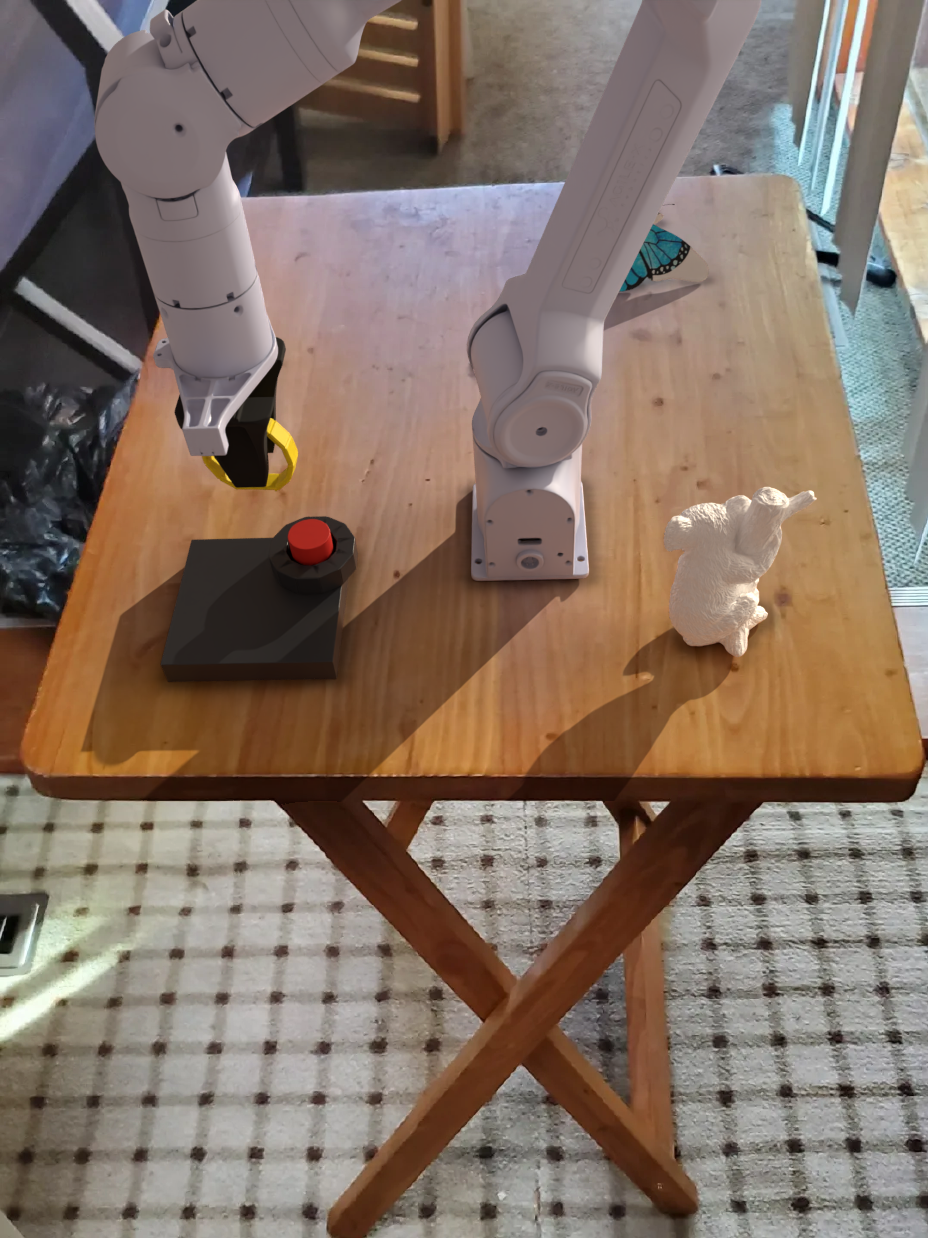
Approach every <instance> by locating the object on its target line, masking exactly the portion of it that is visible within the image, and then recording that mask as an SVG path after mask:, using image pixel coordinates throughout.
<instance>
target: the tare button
mask: <svg viewBox="0 0 928 1238" xmlns="http://www.w3.org/2000/svg"><path fill="white" fill-rule="evenodd" d="M288 541H289V545H290V549H291V553H292V556H293V558H294V559H295V560H296V561H297V562H298V563H300V564H304V565H316V564H319V563H321V562H324V561H325V560H327V559H328V558H329V557H330V556H331V554H332V552H333V543H332V538H331V533H330V529H329V527H328V526H327V524H325V523H324V522H322V521H320V520H316V519H308V520H303V521H300V522H298V523H296V524H295V525H294V526H293V527H292V528H291V529H290V530H289V533H288Z"/></svg>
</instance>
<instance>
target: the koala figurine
mask: <svg viewBox="0 0 928 1238" xmlns="http://www.w3.org/2000/svg"><path fill="white" fill-rule="evenodd" d="M815 501H817V497H815V492H814V491H813V490H806V491H803V490H802V491H800V492H799V493H798V494H796V495H793V496H791V497H787V495H786V494H785V493H784V492H782V491H780V490H779V489H776V488H774V487H770V486H764V487H761V488H758V489H757V490H756V491H755V492H754V493H753V494H752V498H751V499H750V498H749V497H748V496H746V495H744V494H740V495H735V496H732V497H730V498H728V499H727V500H726V501H725V502H724V503H721V504H720V503H716V502H702V503H700V504H699V503H698V504H695V505H692V506H689V507H688V508H685V509H683V511H682V512H681V513H680V514H679V515H674V516H672V517H671V518H670V521H667V525H666V527H665V528H664V531H665V532H663V535H664V536H663V546H664V549H665V550H666V551H667V552H674V551H680V550H681V551H682V552H683V553H682V554H680V556H678V560H677V568H676V572H675V574H674V580H673V583H672V584H671V587H670V592H669V594H670V595H669V599H668V614H669V615H668V616H669V620H670V622H671V625H672V627H673V628H674V629H675V631H677V633H678V634H679V635H680V636H681V637H682V640H683V641H684V643H685V644H686V645H688V646H690V647H703V646H709V645H714V644H717V643H720V644H721V645H723V647H724V649H725V650H726V652H727V653H728V654H729V655H732V656H733V657H735V658H741V657H742V656H744V655H745V653H746V652H747V649H748V638H749V635H750V630H752V629H753V628H755V626H757V625H758V624H760V623H762V622H763V621H765V620H766V619H767V618H768V615H769V613H768V612H767V611H766V609H765V608H764V607H763V606H761V605H759V602H760V591H759V590H758V588H757V587H758V583H759V582H760V578H761V577H763V575H765V574H766V573H767V572H768V570H769V569H771V567H772V565H773V564H774V561H775V560H776V557H777V555H778V553H779V550H780V547H781V544H782V539H783V538H782V537H783V530H782V524H783V523H784V521H786V520H789V518H792V516H795V514H797V513H799V512H801V511H804V509H807V508H808V507H810V506H811V505H812V504H813V503H814V502H815Z"/></svg>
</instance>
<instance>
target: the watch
mask: <svg viewBox="0 0 928 1238" xmlns="http://www.w3.org/2000/svg"><path fill="white" fill-rule="evenodd" d="M267 437H268V438H269V439H271V440H272V441H273V442H274V443H275V446H277V447H278V448H279V449H280V450H281V453H282V454H283V457H284V459H285V461H286V464H287V466H286V468H284V470H283V471H281V472H280V473H269V474H268V480H267V485H266V486H265V487H248V488H236V487H235V486H234V485H233V483H232V482H231V481H230V479H229V478H228V476H227V475H226V473H225V472H224V470H223V469H222V467H221V466H220V465H219V463H218V462H217V460H216V459H215V458H214V456H201V458H202V462H203V464H204V465H205V466H206V468H207V469H208V470H209V471H210V472H211V473H212V475H213V476H214V477H215V478H216V479H217V480H219V481H220V482H221V483H224V484H225V485H227V486H230V487H231V488H233V489H235V490H236V491H237V490H241V491H242V490H247V491H249V490H250V491H252V490H253V491H255V490H256V491H274V492H278V491H280V490H282V489H283V488H284V487H286V486H287V484H289V483H290V482H291V480H292V478H293V475H294V473H295V470H296V468H297V463H298V457H299V450H298V446H297V444H296V442H295V440H294V438H293V436H292V435H291V433H290V432H289V431H288V430H287V429H286V428H285V427H283V426H282V424H280V423H279V422H278V421H277V420H276V421H274V419H272V418H270V421H269V424H268V427H267Z"/></svg>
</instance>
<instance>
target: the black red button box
mask: <svg viewBox="0 0 928 1238" xmlns="http://www.w3.org/2000/svg"><path fill="white" fill-rule="evenodd" d="M308 519H316V520H320V521H322V522H324V523H325V524H327V526H328V527H329V529H330V533H331V538H332V543H333V552H332V554H331V556H330V557H329V558H328V559H327V560H325V561H324V562H321V563H319V564H316V565H304V564H300V563H298V562H297V561H296V560H295V559H294V558H293V556H292V553H291V549H290V545H289V541H288V533H289V530H290V529H291V528H292V527H293V526H294V525H295V524H296V523H298V522H300V521H303V520H308ZM358 557H359V551H358V547H357V541H356V537H355V536H354V534H353V532H352V531H351V529H350V528H349V527H348V525H347V524H346V523H345V522H342V521H339V520H337V519H335V518H333V517H330V516H327V515H321V516H304V517H301V518H298V519H297V520H294V521H291V522H288V523H287V524H285V525H283V526H282V528H281V529H280V530H278V532H277V533H276V534H275V535H274V536H273V537H243V538H242V537H241V538H239V537H237V538H202V539H201V538H199V539H198V538H197V539H191V540H190V544H189V549H188V551H187V557H186V560H185V564H184V565H185V566H184V568H183V572H182V577H181V582H180V583H179V588H178V592H177V596H176V600H175V605H174V609H173V613H172V615H171V616H172V617H171V621H170V624H169V629H168V632H167V637H166V641H165V645H164V648H163V653H162V657H161V660H160V668H161V670H162V672H163V675H164V676H165V679H166V681H167V682H168V683H186V682H188V683H189V682H191V683H192V682H193V683H194V682H240V681H241V682H245V681H247V682H251V681H303V680H305V681H306V680H337V679H338V674H339V673H338V672H339V665H340V656H341V647H342V639H343V631H344V621H345V615H346V614H345V612H346V605H347V604H346V603H347V595H348V588H349V587H348V586H349V578H351V576H352V575H353V574H354V573H355V572H356V570H357V567H358V566H357V565H358Z"/></svg>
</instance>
